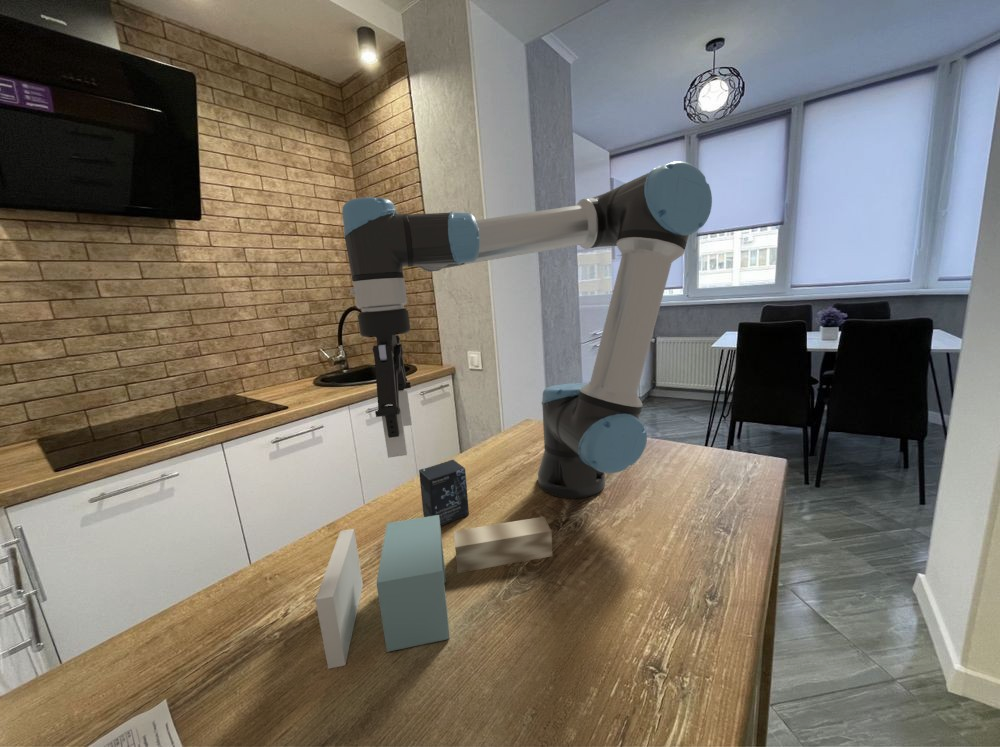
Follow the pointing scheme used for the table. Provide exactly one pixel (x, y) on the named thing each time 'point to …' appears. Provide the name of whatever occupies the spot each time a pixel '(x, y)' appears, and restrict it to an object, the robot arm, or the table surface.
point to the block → (413, 584)
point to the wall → (340, 599)
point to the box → (444, 491)
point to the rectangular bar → (502, 544)
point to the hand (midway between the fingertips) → (401, 439)
